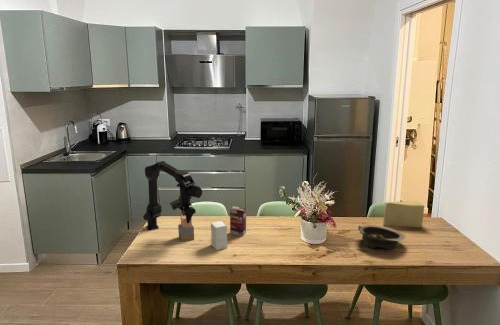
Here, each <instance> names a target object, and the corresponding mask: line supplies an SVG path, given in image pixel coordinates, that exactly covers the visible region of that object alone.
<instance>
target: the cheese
mask: <svg viewBox="0 0 500 325" xmlns="http://www.w3.org/2000/svg"><path fill="white" fill-rule="evenodd" d="M424 213H425V205H424V204H423V203H422V202H421V201H420V200H402V201H387V202H386V203H385V207H384V213H383V221H382V222H383V223H382V225H383V226H390V227H391V226H392V227H394V226H395V227H407V226H408V228H409V227H411V228H420V227H421V228H423V221H424Z"/></svg>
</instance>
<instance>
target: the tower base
mask: <svg viewBox="0 0 500 325" xmlns="http://www.w3.org/2000/svg"><path fill="white" fill-rule="evenodd" d="M178 238H179V239H180V241H181V242H182V243H183V242H188V241H193V240H195V232H194V233H192V234H187V235H181V234H180V232H179V231H178Z"/></svg>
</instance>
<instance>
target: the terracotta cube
mask: <svg viewBox="0 0 500 325" xmlns="http://www.w3.org/2000/svg"><path fill="white" fill-rule="evenodd" d="M180 224H181V225H182V227H183V228H184V227H189V226H192V225H193V221H192V218H191V220H190V222H189V223H187V221H186V216H183V215H181V216H180Z"/></svg>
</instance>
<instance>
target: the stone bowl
mask: <svg viewBox="0 0 500 325" xmlns="http://www.w3.org/2000/svg"><path fill="white" fill-rule="evenodd" d="M357 229H358V231H359V234H361V235H362V237H361V239H362V241H363V242H362V243H363V244H364V245H365V246H366V247H370V248H371V249H377V248H383V249H385V250H388V251H389V250H393V249H395V247H396V246H397V245H398V244H399V242H402V241H403V240H405V239H406V235H405V234H404V233H403V232H401V231H399V230H396V229H394V228H390V227H387V226H384V225H383V226H382V225H376V224H366V225H362V226H361V225H358V227H357Z"/></svg>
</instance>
